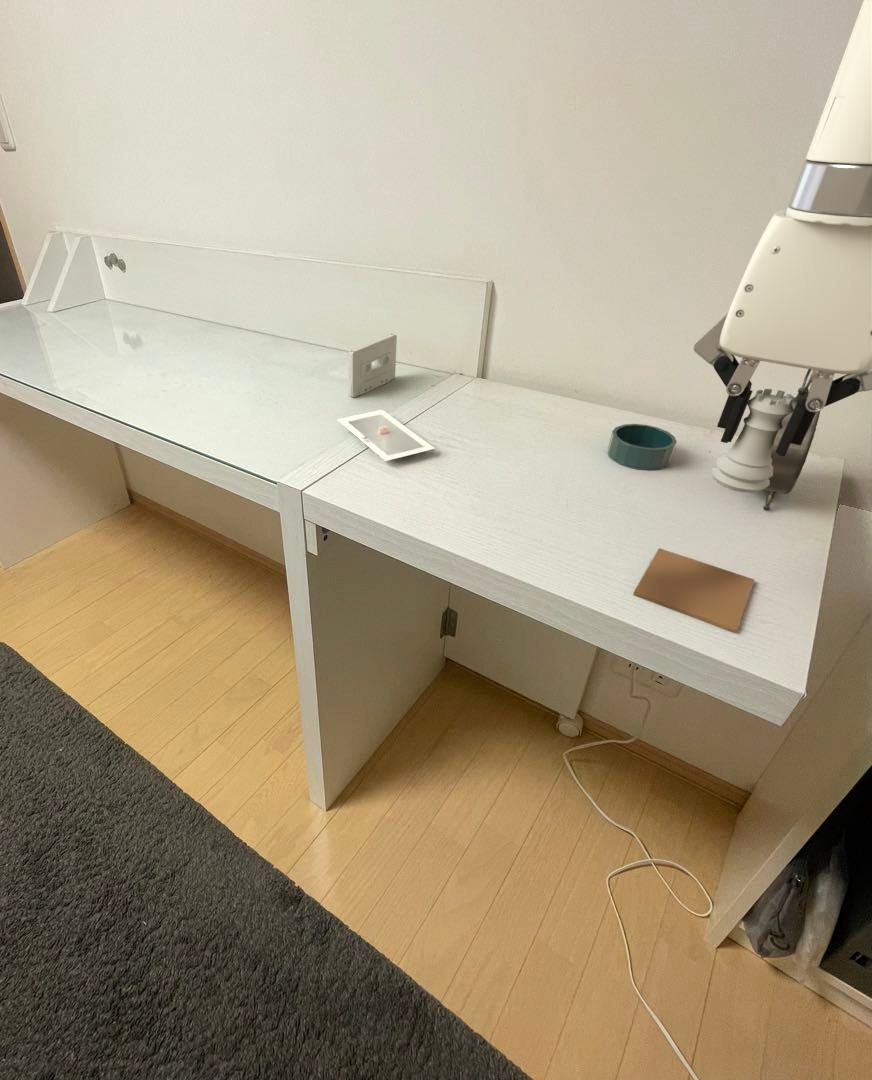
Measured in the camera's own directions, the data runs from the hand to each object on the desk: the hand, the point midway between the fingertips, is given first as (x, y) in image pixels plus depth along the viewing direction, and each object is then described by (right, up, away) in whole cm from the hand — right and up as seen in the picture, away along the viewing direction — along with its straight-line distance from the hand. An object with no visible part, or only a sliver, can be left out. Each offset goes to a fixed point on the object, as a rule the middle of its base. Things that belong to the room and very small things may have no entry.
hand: (755, 441), depth 51 cm
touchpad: (-28, +6, +38) cm, 47 cm away
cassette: (-29, +18, +54) cm, 64 cm away
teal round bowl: (+6, +3, +32) cm, 33 cm away
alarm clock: (+17, -3, +24) cm, 29 cm away
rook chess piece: (0, -3, +2) cm, 4 cm away
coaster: (0, -13, +9) cm, 16 cm away
